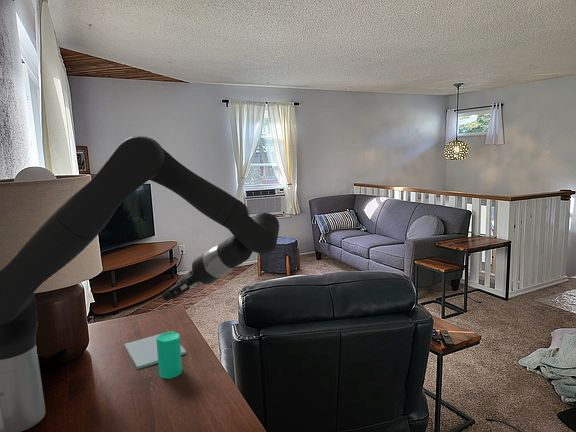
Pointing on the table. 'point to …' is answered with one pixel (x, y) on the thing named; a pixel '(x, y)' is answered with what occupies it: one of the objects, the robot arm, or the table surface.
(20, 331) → the robot arm
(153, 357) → the tile
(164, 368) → the candle
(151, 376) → the table surface
